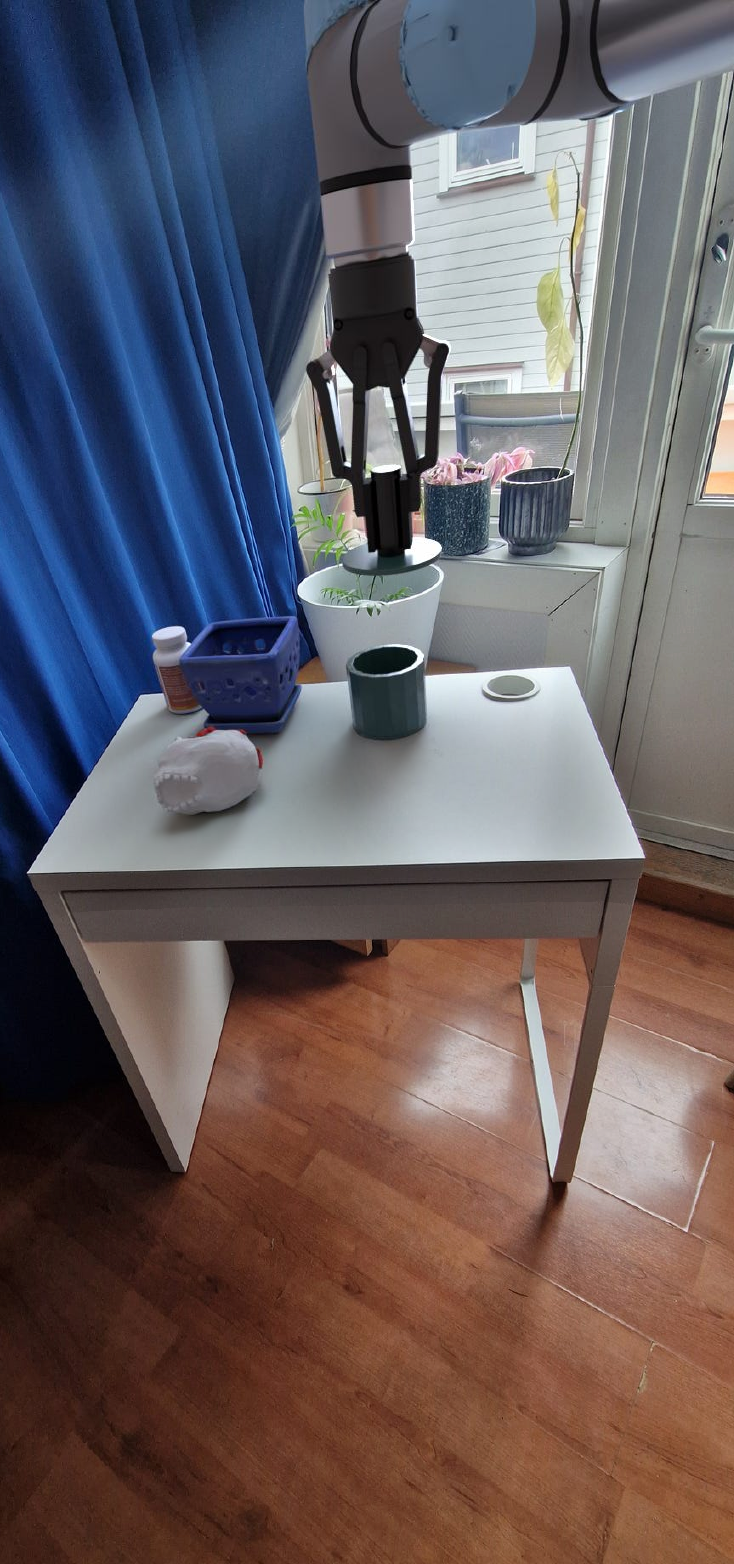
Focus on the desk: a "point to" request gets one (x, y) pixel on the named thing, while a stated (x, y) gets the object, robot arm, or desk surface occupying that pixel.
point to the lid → (389, 533)
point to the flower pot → (245, 673)
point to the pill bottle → (173, 669)
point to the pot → (387, 691)
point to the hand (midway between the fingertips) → (390, 546)
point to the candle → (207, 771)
